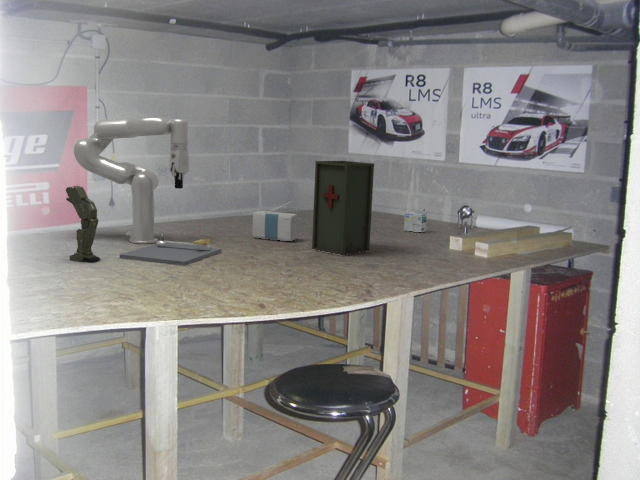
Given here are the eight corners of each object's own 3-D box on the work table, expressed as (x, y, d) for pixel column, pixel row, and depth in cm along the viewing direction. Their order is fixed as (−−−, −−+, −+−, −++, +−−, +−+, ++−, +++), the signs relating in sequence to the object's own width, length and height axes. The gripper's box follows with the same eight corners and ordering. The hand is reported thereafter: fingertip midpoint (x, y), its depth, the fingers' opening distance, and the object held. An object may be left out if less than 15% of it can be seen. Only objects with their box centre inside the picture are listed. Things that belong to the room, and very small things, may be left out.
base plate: (119, 258, 270) (119, 254, 270) (161, 246, 300) (161, 242, 300) (184, 265, 262) (184, 261, 261) (221, 252, 292) (221, 248, 291)
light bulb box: (426, 232, 375) (427, 213, 373) (421, 233, 369) (422, 214, 368) (408, 230, 381) (409, 211, 379) (403, 231, 375) (404, 212, 373)
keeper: (192, 251, 283) (192, 241, 282) (203, 247, 292) (203, 238, 291) (199, 252, 282) (199, 242, 281) (210, 248, 291) (210, 239, 290)
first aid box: (369, 251, 308) (374, 163, 302) (342, 256, 295) (347, 163, 288) (338, 245, 320) (342, 160, 314) (311, 249, 307) (315, 161, 300)
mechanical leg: (110, 258, 264) (94, 182, 261) (98, 262, 257) (81, 184, 254) (81, 263, 268) (65, 188, 266) (69, 266, 262) (52, 190, 259)
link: (154, 246, 289) (154, 234, 288) (159, 244, 294) (159, 233, 293) (206, 250, 284) (207, 239, 283) (211, 249, 288) (211, 237, 288)
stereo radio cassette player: (251, 238, 330) (252, 197, 327) (259, 236, 337) (260, 196, 334) (290, 243, 322) (292, 201, 319) (297, 240, 330) (299, 199, 327)
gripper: (178, 147, 294) (177, 190, 297) (194, 147, 308) (194, 187, 311) (162, 147, 296) (162, 188, 299) (180, 146, 310) (179, 186, 313)
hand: (178, 188), depth 305 cm, fingers closed
